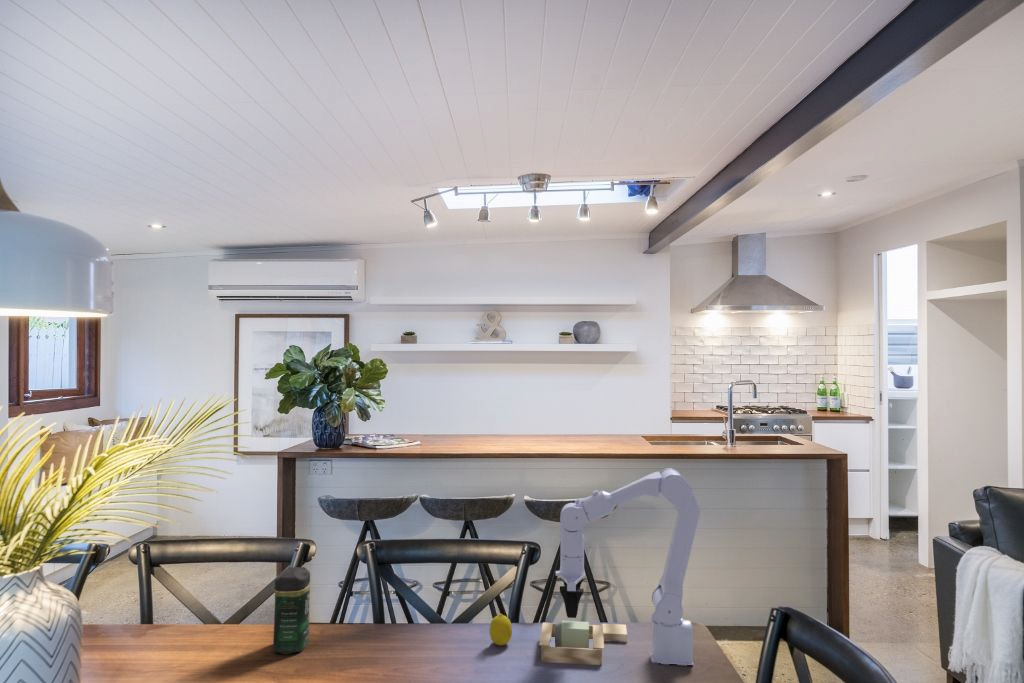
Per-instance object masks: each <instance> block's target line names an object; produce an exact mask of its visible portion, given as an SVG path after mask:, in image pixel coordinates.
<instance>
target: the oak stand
mask: <svg viewBox="0 0 1024 683" xmlns="http://www.w3.org/2000/svg"><path fill="white" fill-rule="evenodd" d="M601 625H603V638H604V642H610V641H619V642H618V643H628V631H627V625H626V624H622V623H621V624H617V623H602V624H601Z"/></svg>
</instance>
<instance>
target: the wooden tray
mask: <svg viewBox="0 0 1024 683" xmlns="http://www.w3.org/2000/svg"><path fill="white" fill-rule="evenodd" d="M555 624H556V622H555V623H554V622H542V626H541V632H540V637H539V638H540V639H539V642H538V643H539V644H538V646H539V647H540V656H541V657H540V662H541V663H552V664H553V663H555V664H571V665H573V664H574V665H589V666H591V665H592V666H602V665H603V650H605V641H604V638H603V625H602V624H589V639H593V649H589V648H570V647H551V646H550V642H551V637H555Z"/></svg>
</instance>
